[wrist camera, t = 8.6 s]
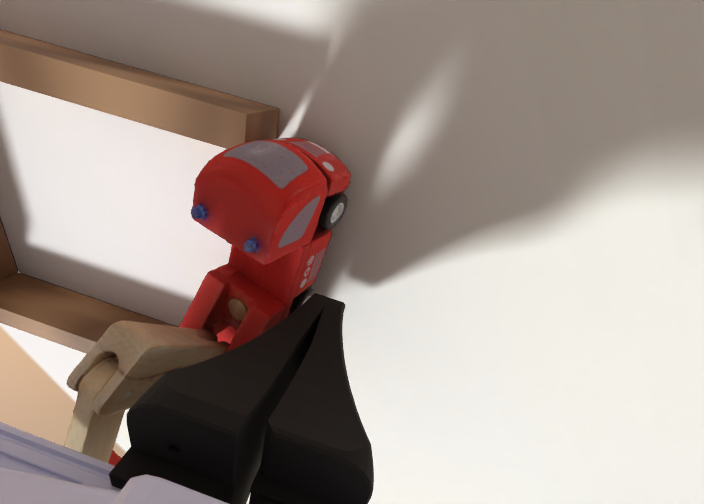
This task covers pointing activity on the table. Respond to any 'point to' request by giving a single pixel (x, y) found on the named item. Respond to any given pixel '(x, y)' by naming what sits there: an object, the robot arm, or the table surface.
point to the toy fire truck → (221, 278)
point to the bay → (127, 102)
